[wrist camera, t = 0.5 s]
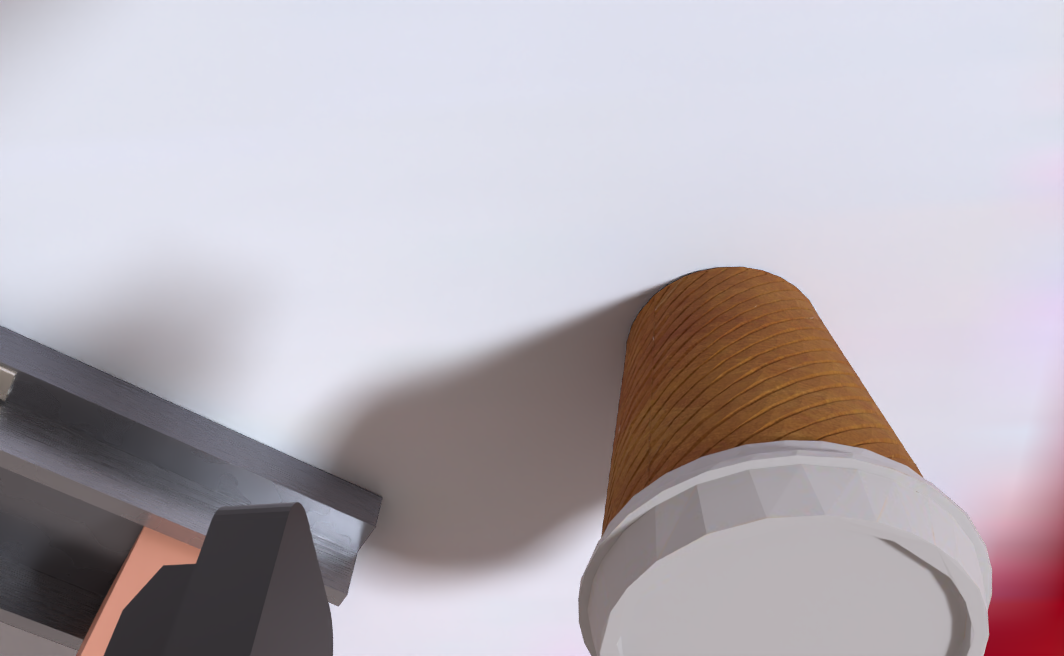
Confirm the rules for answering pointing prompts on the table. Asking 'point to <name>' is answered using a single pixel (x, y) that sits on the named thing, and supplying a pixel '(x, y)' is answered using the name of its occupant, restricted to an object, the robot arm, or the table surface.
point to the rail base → (130, 487)
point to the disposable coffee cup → (768, 496)
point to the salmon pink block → (134, 583)
